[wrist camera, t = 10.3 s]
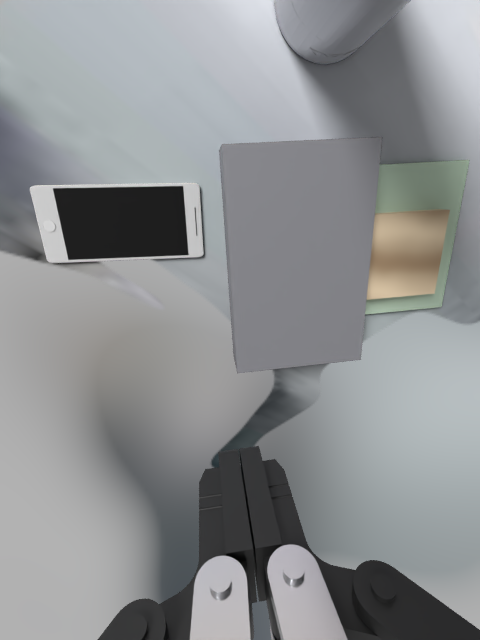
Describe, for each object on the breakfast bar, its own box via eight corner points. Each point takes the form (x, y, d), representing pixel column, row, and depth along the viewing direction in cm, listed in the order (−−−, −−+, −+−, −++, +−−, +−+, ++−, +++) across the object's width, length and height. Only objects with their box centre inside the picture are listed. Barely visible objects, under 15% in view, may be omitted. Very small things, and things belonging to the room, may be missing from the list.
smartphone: (32, 185, 30) (27, 185, 29) (199, 182, 31) (199, 182, 31) (51, 261, 32) (47, 263, 32) (203, 255, 34) (203, 257, 33)
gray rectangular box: (219, 150, 30) (221, 144, 26) (361, 143, 31) (382, 136, 28) (233, 355, 38) (237, 373, 35) (345, 344, 40) (360, 359, 36)
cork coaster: (359, 214, 33) (366, 215, 32) (439, 209, 34) (450, 209, 33) (352, 296, 37) (358, 300, 35) (425, 289, 38) (434, 293, 36)
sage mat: (363, 165, 32) (366, 165, 32) (465, 160, 33) (469, 159, 33) (351, 313, 38) (354, 315, 38) (437, 305, 39) (441, 307, 39)
